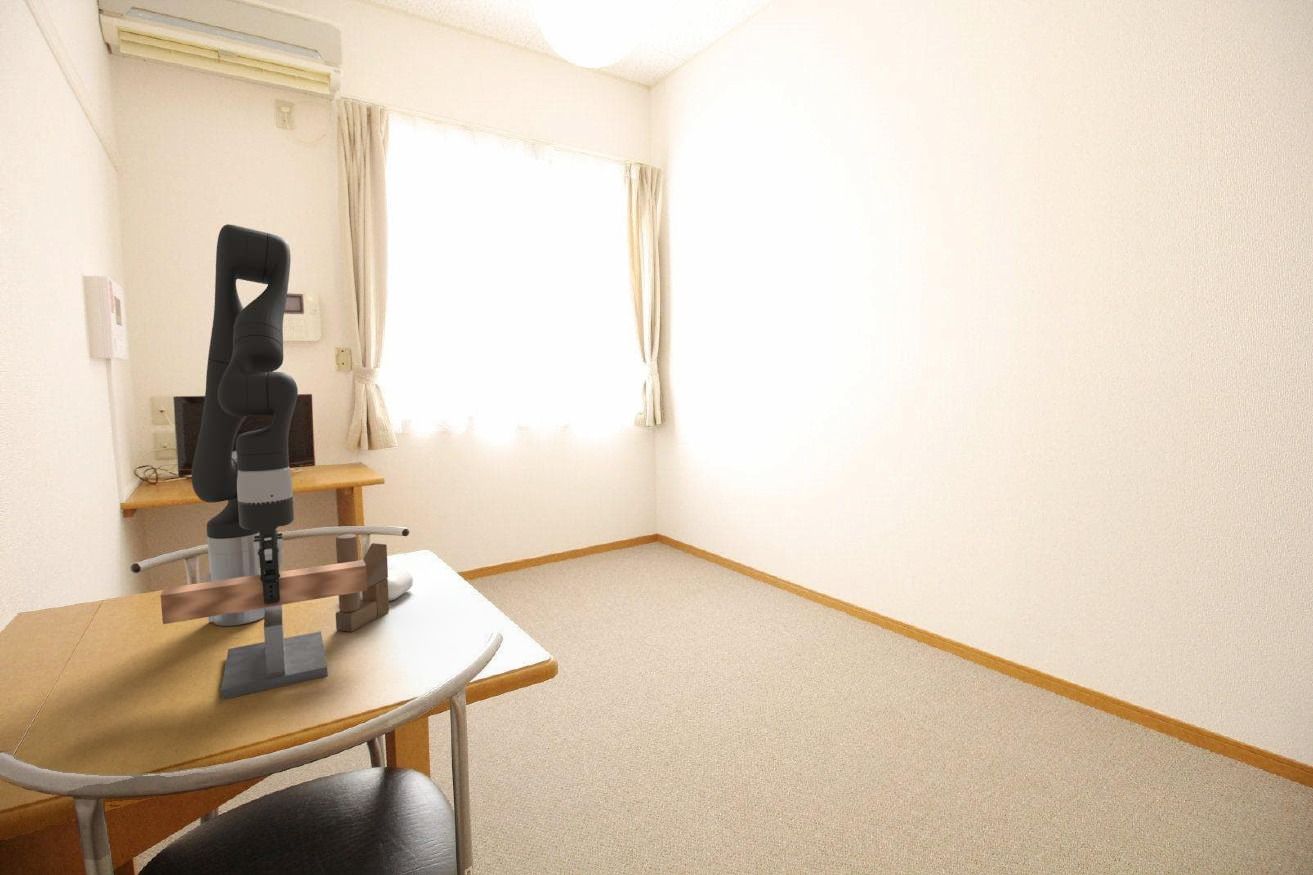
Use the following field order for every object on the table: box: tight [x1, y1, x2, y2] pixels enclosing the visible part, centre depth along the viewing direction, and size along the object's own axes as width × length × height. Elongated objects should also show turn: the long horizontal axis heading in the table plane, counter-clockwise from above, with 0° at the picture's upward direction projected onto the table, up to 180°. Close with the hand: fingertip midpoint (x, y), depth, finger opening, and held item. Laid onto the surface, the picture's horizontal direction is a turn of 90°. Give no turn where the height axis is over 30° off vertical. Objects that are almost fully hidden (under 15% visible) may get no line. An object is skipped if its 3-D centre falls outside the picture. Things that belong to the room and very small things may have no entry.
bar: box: [159, 559, 367, 625], centre depth 101 cm, size 28×4×4 cm, turn 122°
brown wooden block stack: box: [335, 533, 390, 633], centre depth 120 cm, size 4×11×18 cm, turn 165°
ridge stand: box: [220, 605, 329, 700], centre depth 102 cm, size 16×14×10 cm
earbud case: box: [360, 568, 414, 602], centre depth 135 cm, size 10×13×5 cm
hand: (272, 598), depth 101 cm, fingers closed on bar, 3 cm apart
